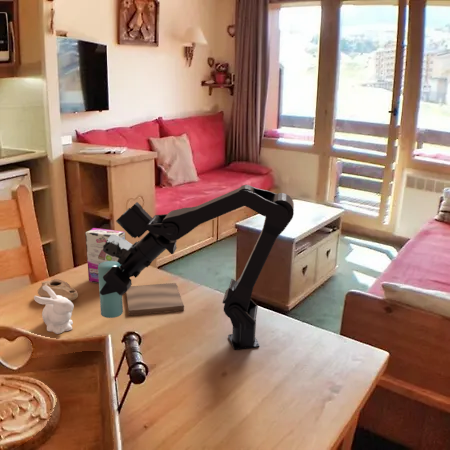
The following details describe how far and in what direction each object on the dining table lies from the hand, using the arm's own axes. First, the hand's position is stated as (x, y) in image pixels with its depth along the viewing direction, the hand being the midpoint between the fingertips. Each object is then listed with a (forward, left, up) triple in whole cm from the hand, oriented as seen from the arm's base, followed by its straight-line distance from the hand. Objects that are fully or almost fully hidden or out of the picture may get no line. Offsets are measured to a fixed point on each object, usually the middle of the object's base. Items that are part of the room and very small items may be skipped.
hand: (105, 288), depth 129 cm
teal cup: (-1, -1, -7) cm, 7 cm away
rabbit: (+3, +12, -12) cm, 17 cm away
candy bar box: (+29, -1, -12) cm, 32 cm away
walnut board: (+14, -13, -12) cm, 23 cm away
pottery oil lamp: (+19, +13, -12) cm, 26 cm away
